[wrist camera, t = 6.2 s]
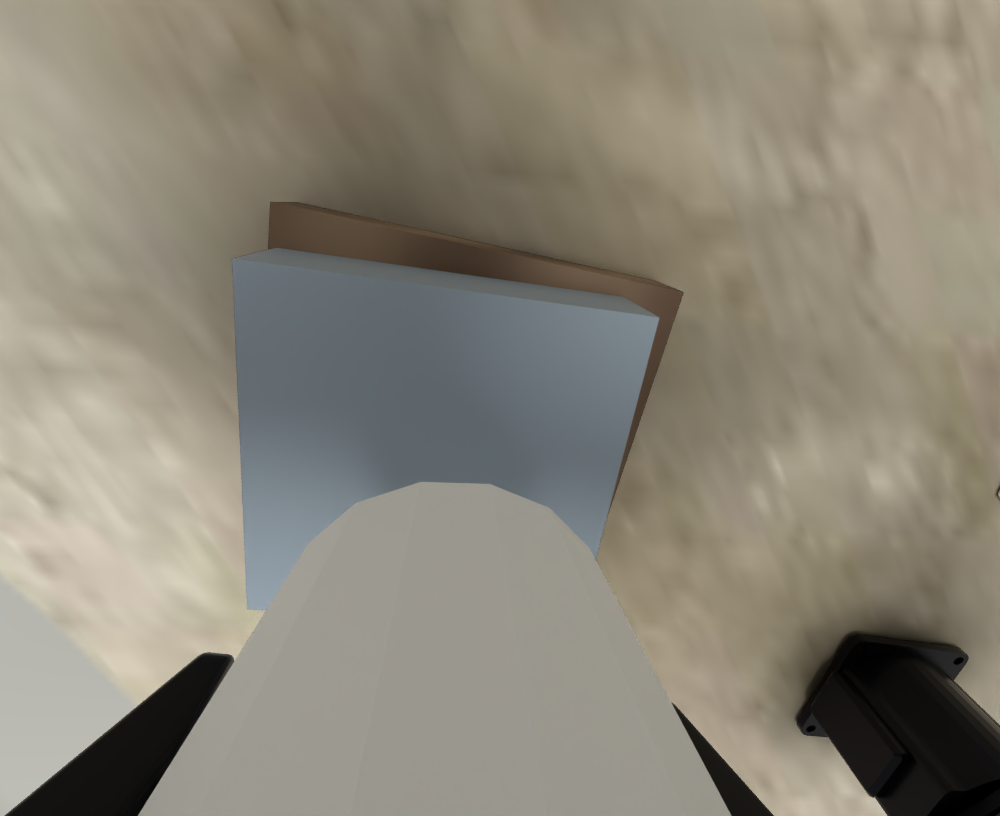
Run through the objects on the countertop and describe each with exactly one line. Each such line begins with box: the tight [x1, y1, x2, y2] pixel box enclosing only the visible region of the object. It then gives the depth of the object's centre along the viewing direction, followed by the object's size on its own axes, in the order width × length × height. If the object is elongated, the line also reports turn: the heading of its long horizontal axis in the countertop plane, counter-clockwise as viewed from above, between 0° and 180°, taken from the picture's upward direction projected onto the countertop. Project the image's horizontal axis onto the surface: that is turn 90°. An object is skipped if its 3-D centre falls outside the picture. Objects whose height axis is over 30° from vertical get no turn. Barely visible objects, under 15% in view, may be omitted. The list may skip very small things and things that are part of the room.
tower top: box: [232, 248, 660, 610], centre depth 15 cm, size 10×10×3 cm
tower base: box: [268, 202, 684, 516], centre depth 18 cm, size 12×12×3 cm
